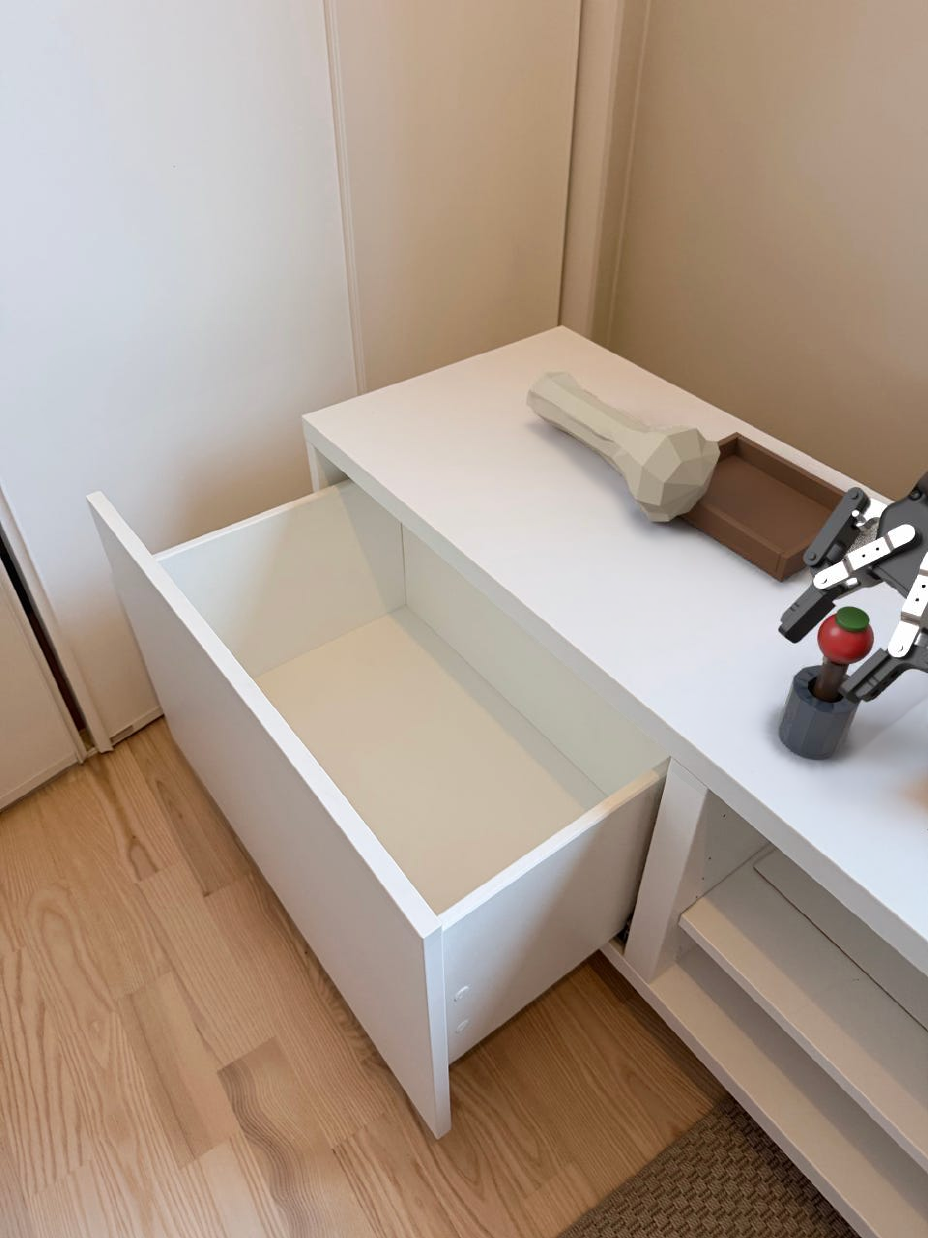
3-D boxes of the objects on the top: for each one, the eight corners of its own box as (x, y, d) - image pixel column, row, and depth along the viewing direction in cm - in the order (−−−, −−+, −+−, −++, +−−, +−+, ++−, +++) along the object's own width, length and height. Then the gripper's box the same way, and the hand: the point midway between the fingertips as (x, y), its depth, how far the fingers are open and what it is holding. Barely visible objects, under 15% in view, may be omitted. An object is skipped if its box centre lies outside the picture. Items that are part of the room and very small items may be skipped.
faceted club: (649, 543, 81) (493, 424, 97) (717, 532, 85) (557, 420, 102) (680, 449, 76) (510, 341, 92) (751, 442, 81) (577, 340, 97)
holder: (853, 753, 66) (873, 706, 62) (795, 765, 65) (812, 719, 62) (822, 707, 69) (840, 660, 65) (767, 718, 68) (781, 671, 65)
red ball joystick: (845, 744, 66) (892, 630, 58) (800, 753, 65) (841, 640, 57) (821, 709, 68) (863, 594, 60) (778, 717, 68) (815, 603, 60)
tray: (864, 529, 84) (872, 506, 82) (780, 582, 79) (787, 558, 77) (731, 453, 93) (736, 431, 91) (649, 497, 88) (653, 474, 86)
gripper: (914, 382, 58) (722, 582, 63) (1116, 508, 49) (872, 732, 54) (950, 434, 63) (770, 615, 68) (1139, 557, 54) (914, 757, 59)
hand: (816, 666), depth 61 cm, fingers open, 5 cm apart
